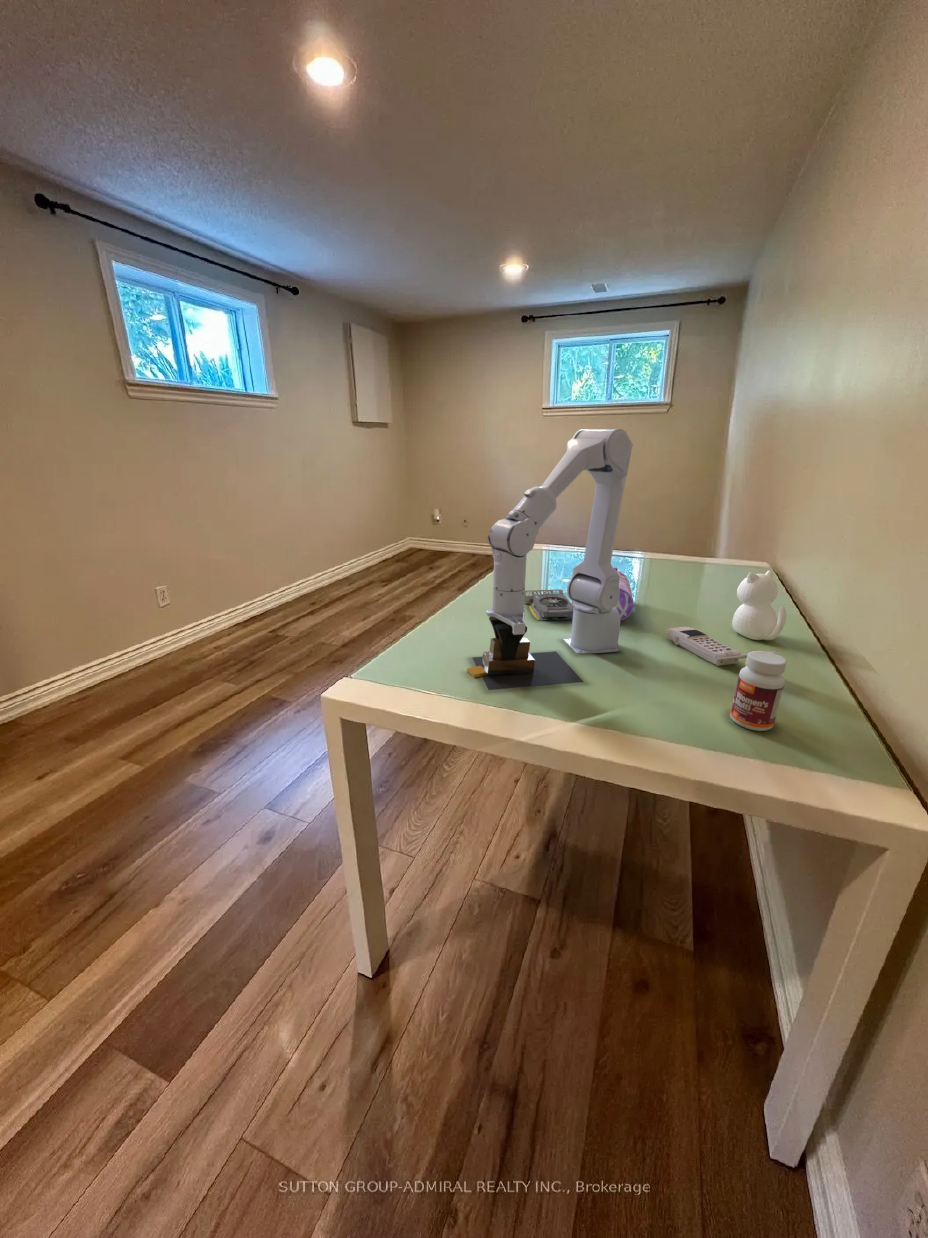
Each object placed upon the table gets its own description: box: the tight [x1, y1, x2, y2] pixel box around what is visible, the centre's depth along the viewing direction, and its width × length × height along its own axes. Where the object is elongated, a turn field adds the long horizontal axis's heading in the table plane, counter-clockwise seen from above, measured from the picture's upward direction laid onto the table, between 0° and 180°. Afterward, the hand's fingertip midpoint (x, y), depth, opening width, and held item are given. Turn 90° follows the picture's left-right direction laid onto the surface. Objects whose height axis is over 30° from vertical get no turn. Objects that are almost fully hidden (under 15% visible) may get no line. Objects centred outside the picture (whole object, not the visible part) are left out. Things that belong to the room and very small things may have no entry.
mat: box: [471, 651, 584, 691], centre depth 95 cm, size 18×14×1 cm
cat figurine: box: [731, 569, 787, 641], centre depth 110 cm, size 9×12×15 cm
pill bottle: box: [729, 650, 787, 732], centre depth 76 cm, size 6×6×11 cm
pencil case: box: [613, 567, 634, 622], centre depth 128 cm, size 22×9×9 cm, turn 167°
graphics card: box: [524, 588, 574, 621], centre depth 128 cm, size 17×4×12 cm
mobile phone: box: [666, 626, 777, 667], centre depth 101 cm, size 6×6×25 cm
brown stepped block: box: [482, 637, 535, 675], centre depth 93 cm, size 9×4×6 cm, turn 102°
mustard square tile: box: [466, 666, 488, 678], centre depth 93 cm, size 3×3×1 cm
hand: (506, 656), depth 93 cm, fingers closed on brown stepped block, 2 cm apart
